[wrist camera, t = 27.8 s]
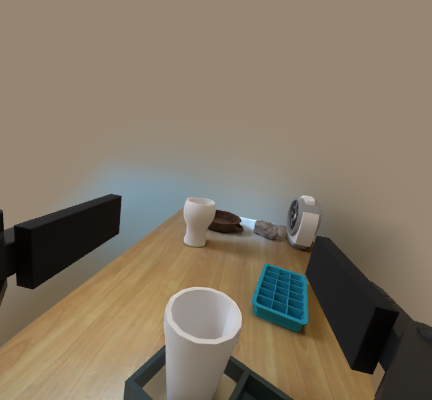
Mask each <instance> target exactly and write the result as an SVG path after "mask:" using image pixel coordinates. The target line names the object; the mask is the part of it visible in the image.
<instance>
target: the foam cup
mask: <svg viewBox="0 0 432 400" xmlns="http://www.w3.org/2000/svg"><path fill="white" fill-rule="evenodd" d="M241 323H242V313H241V312H240V310H239V308H238V306H237V304H236V303H235V302H234V301H233V300H232V299H231V298H229V297H228V296H227V295H226V294H224V293H222V292H219V291H217V290H214V289H212V288H204V287H192V288H188V289H183V290H181V291H180V292H178V293H176V294H175V295H173V296H172V297H171V299H170V301H169V303H168V305H167V306H166V310H165V317H164V332H165V342H166V389H167V400H212V399H213V397H214V394H215V392H216V390H217V387H218V385H219V382H220V380H221V377H222V375H223V373H224V370H225V368H226V365H227V363H228V360H229V358H230V356H231V353H232V351H233V349H234V347H235V346H236V344H237V343H238V339H239V335H240V331H241Z"/></svg>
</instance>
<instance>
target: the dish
mask: <svg viewBox="0 0 432 400" xmlns="http://www.w3.org/2000/svg"><path fill="white" fill-rule="evenodd" d="M240 222H241V219H240V218H239V217H238V216H236V215H234V214H232V213H230V212H226V211H221V210H216V212H215V217H214V219H213V221H212V223H211V224H210V225H209V227H208V228H210V229H213V230H217V231H222V232H231V231H236V232H242V231H243V227H242V226H241V225H240V224H239V223H240Z"/></svg>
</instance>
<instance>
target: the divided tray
mask: <svg viewBox="0 0 432 400" xmlns="http://www.w3.org/2000/svg"><path fill="white" fill-rule="evenodd" d="M124 400H167V389H166V344H165V345H164V346H163V347H162V348H161V349H160V350H159V351H158V352H157V353H156V354H155V355H153V356H152V357H151V358H150V359H149V360H148V361H147V362H146V363H145V364H144V365H143V366H141V367H140V368H139V369H138V370H137V371H136V372H135V373H134V374H133V375H132V376H131V377H129V378H128V379H127V380H126V381H125V389H124ZM212 400H293V399H292V398H291V397H289V396H288V395H286V394H285V393H283V392H282V391H281V390H279V389H278V388H276V387H275V386H274V385H272V384H271V383H269V382H268V381H266V380H265V379H264V378H262V377H261V376H259V375H258V374H256V373H255V372H254V371H251V369H249V368H248V367H246V366H245V365H244V364H242V363H241V362H240V361H238V360H237V359H235V358H234V357H232V356H230V358H229V360H228V363H227V365H226V368H225V370H224V373H223V375H222V377H221V380H220V382H219V385H218V387H217V390H216V392H215V394H214V397H213V399H212Z"/></svg>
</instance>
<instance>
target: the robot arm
mask: <svg viewBox="0 0 432 400" xmlns="http://www.w3.org/2000/svg"><path fill="white" fill-rule="evenodd" d="M121 197H122V196H118V195H113V194H110V195H106V196H103V197H100V198H97V199H94V200H91V201H88V202H85V203H82V204H79V205H75V206H73V207H69V208H66V209H63V210H60V211H57V212H54V213H51V214H48V215H45V216H42V217H39V218H35V219H32V220H29V221H26V222H23V223H20V224H17V225H14V227H12V228H9V229H6V230H4V224H3V211H2V210H0V305H1V302H2V299H3V297H4V294H5V291H6V288H7V277H9V276H11V275H13V274H15V273H16V280H17V286H21V287H25V288H29V289H35V288H36V287H38V286H39V285H40V284H42V283H44V282H45V281H47V280H48V279H50V278H51V277H53V276H54V275H56V274H57V273H59V272H61V271H62V270H64V269H65V268H67V267H68V266H70V265H71V264H72V263H74V262H76V261H77V260H79V259H80V258H82V257H83V256H85V255H86V254H88V253H89V252H91V251H93V250H94V249H96V248H97V247H99V246H100V245H102V244H103V243H105V242H106V241H108V240H109V239H111V238H112V237H114V236H116V235H117V234H119V226H120V211H121ZM305 274H306V277H307V279H308V281H309V283H310V285H311V287H312V289H313V291H314V293H315V295H316V297H317V299H318V301H319V303H320V306H321V308H322V310H323V312H324V314H325V316H326V318H327V320H328V322H329V324H330V326H331V328H332V330H333V332H334V335H335V337H336V339H337V341H338V343H339V345H340V347H341V349H342V351H343V353H344V355H345V357H346V359H347V361H348V364H349V366H350V368H351V369H352V370H356V371H360V372H364V373H368V374H373V373H374V370H375V368H376V366H377V363H378V361H379V363H380V364H381V366H382V368H383V369H384V371H385V374H384V376H383V378H382V381H381V383H380V385H379V387H378V389H377V392H376V394H375V399H374V400H432V327H430V326H428V325H426V324H424V323H420V322H416V321H413V320H412V319H411V318H410V317H409V316H408V314H406V313H405V312H404V310H403V309H402V308H401V307H399V306H398V304H396V302H395V301H394V300H393V299H392V298H390V296H389V295H388V294H387V293H386V292H385V291H384V290H383V289H382V288H380V287H379V286H377V285H376V284H374V283H373V282H371V281H369V280H368V279H367V278H366V277H365V276H364V274H363V273H362V272H361V271H360V270H359V269H358V268H357V267H356V266H355V265H354V264H353V263H352V262H351V261H350V260H349V259H348V258H347V257H346V255H345V254H344V253H343V252H342V251H341V250H340V249H339V248H338V247H337V246H336V245H335V244H334V243H333V242H332V241H331V240H330V239H329V238H326V237H321V236H316V239H315V243H314V246H313V249H312V253H311V256H310V260H309V263H308V266H307V270H306V273H305Z"/></svg>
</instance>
